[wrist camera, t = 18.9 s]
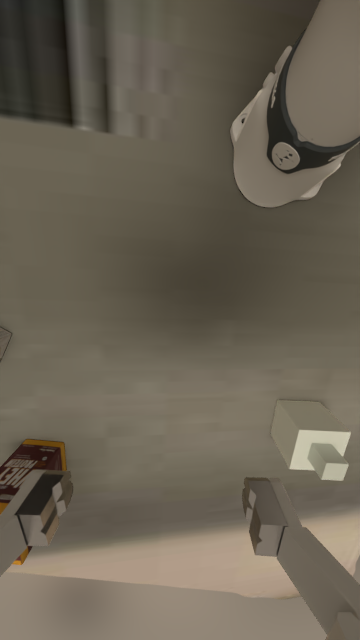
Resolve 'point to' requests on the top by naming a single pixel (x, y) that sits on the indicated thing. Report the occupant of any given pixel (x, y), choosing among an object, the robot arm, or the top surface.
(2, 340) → the coffee box
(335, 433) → the pale sage box
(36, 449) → the supplement box
